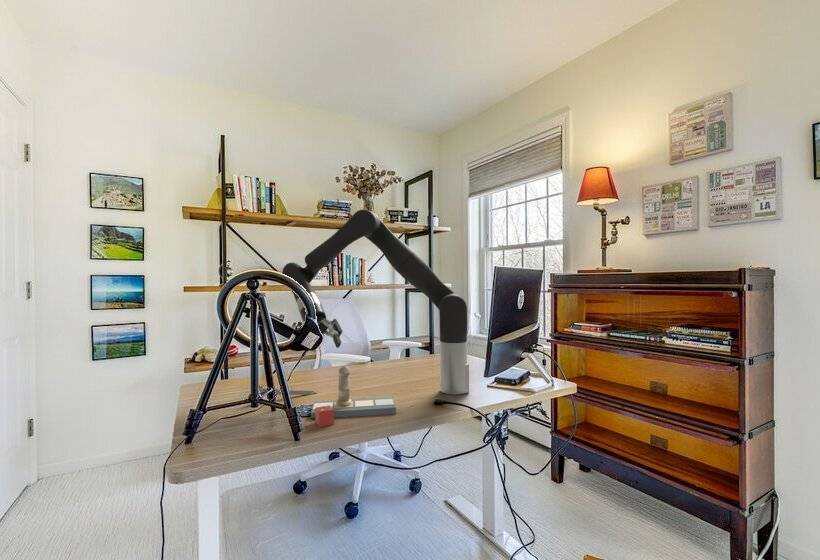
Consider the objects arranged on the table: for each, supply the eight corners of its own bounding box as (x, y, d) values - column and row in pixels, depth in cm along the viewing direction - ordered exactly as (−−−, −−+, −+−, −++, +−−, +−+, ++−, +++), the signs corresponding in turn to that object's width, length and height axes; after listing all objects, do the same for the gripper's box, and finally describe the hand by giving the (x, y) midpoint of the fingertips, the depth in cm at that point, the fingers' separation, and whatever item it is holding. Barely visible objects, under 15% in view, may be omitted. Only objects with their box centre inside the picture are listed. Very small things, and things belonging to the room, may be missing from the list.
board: (392, 403, 126) (392, 396, 126) (396, 413, 116) (396, 406, 116) (314, 407, 122) (314, 400, 122) (311, 419, 112) (310, 411, 112)
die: (329, 419, 112) (329, 404, 112) (334, 424, 108) (333, 409, 108) (315, 422, 110) (315, 407, 110) (319, 427, 106) (319, 411, 106)
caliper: (254, 405, 126) (254, 385, 126) (254, 404, 127) (253, 384, 127) (317, 394, 137) (316, 375, 137) (316, 393, 138) (315, 375, 138)
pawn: (351, 401, 121) (352, 364, 121) (350, 406, 117) (351, 367, 116) (336, 401, 120) (337, 364, 120) (335, 406, 116) (336, 367, 116)
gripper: (293, 302, 129) (309, 342, 120) (333, 300, 138) (350, 338, 129) (287, 318, 133) (302, 357, 124) (326, 315, 142) (342, 352, 133)
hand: (326, 347), depth 126 cm, fingers open, 8 cm apart
